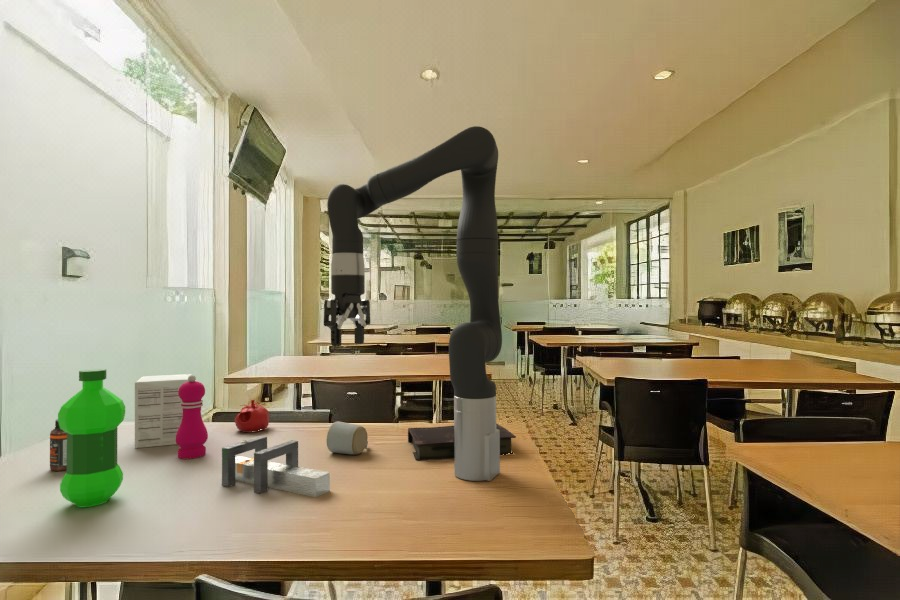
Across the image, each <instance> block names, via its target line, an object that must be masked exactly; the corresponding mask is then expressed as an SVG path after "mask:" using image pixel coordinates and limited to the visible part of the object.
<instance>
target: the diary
mask: <svg viewBox="0 0 900 600" xmlns="http://www.w3.org/2000/svg"><path fill="white" fill-rule="evenodd" d="M496 429H499V431H500V455H503V454H504V455H503V456H507V455H506V454H508V453H510V454H513V452H514V451H513V452H512V453H511V450H512V439H516V438H517V436H516V435H514V433H512V432H511V431H509V430H508V429H506V427H503V426H501V425H500V424H498V423H497V422H496ZM407 443H408V444H411V445H412V446H413V448H414V451H413V452H412V455H413V458H414V459H415V460H416V461H420V462H421V461H422V462H423V461H437V460H438V461H439V460H452V459H454V425H444V426H434V427H408V429H407Z"/></svg>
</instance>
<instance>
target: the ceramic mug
mask: <svg viewBox="0 0 900 600" xmlns="http://www.w3.org/2000/svg"><path fill="white" fill-rule="evenodd" d="M368 445H369V441H368V431H367V430H366V428H365V427H364V426H362V425H359V424H355V423H350V422H343V421H338V420H337V421H334V422H333V423H331V425H330V427H329V429H328V431H327V434H326V446H327V450H328V451H329V452H331V453H336V454H343V455H345V454H346V455H353V456H354V455H360V454H361V453H363V451H364V450H365V449H366V448H367V447H368Z"/></svg>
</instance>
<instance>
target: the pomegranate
mask: <svg viewBox="0 0 900 600" xmlns="http://www.w3.org/2000/svg"><path fill="white" fill-rule="evenodd" d="M257 404H258V405H257ZM267 405H268V404H267V403H266V404H264V403H261V402H257V401H255V398H253V399H251V400H250V402H249V403H248V404H242V405H240V407H242V406H243V407H242V408H241V409H240V413H238V414H237V415H236V416H235V418H234V423H235V424H234V425H235V426H236V428H237V430H239V431H241V432H243V431H244V432H243V433H253V432H252V431H258V430H260V429H264V430H266V429H267V428H268V426H269V423H270V413H269V410H268V409H267V408H266V407H264V406H267ZM265 428H266V429H265ZM258 432H259V431H258Z"/></svg>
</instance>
